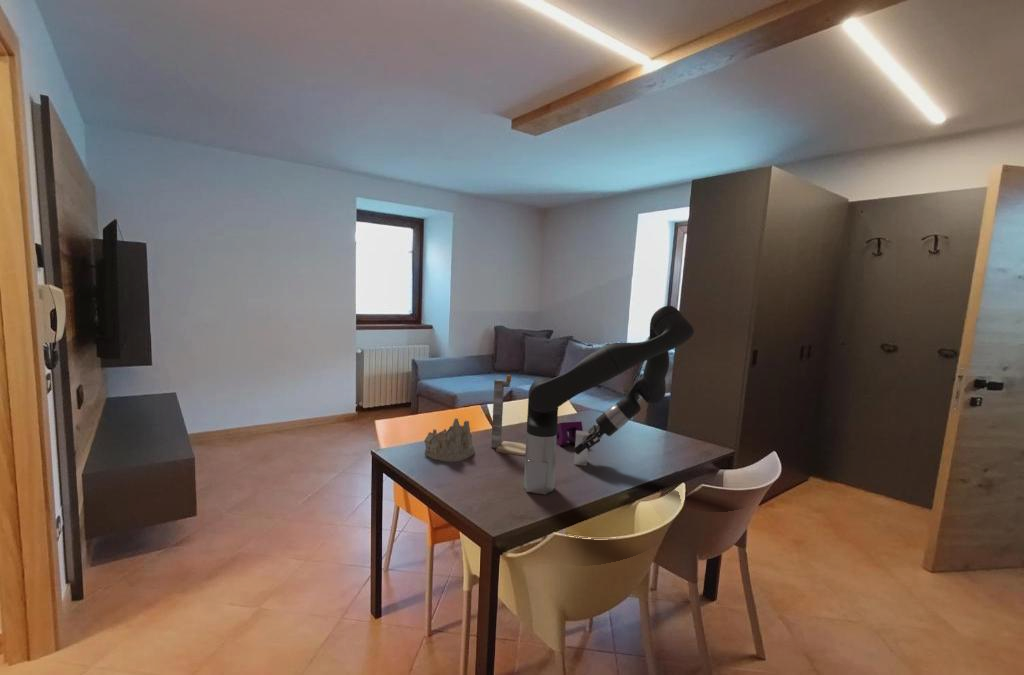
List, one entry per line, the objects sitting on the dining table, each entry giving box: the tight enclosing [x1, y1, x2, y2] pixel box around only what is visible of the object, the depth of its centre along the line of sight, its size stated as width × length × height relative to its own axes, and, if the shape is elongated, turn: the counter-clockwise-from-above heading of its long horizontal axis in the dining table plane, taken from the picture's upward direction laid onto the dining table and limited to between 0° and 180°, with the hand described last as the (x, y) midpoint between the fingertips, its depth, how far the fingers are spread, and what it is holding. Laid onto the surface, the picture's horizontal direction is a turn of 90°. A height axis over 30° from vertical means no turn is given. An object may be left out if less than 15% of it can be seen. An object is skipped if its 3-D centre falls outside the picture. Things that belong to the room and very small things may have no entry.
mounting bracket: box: [556, 421, 584, 447], centre depth 181 cm, size 9×8×18 cm
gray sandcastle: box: [423, 417, 476, 463], centre depth 159 cm, size 16×16×15 cm
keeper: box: [490, 374, 526, 457], centre depth 167 cm, size 11×14×28 cm
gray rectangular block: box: [573, 430, 589, 467], centre depth 156 cm, size 4×4×11 cm
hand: (575, 449), depth 156 cm, fingers closed on gray rectangular block, 4 cm apart
